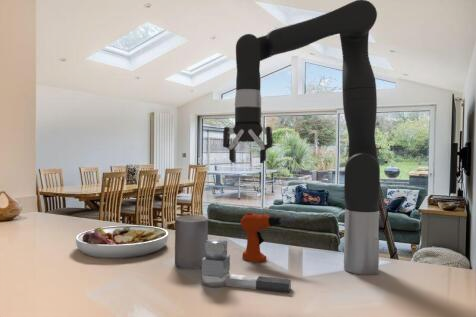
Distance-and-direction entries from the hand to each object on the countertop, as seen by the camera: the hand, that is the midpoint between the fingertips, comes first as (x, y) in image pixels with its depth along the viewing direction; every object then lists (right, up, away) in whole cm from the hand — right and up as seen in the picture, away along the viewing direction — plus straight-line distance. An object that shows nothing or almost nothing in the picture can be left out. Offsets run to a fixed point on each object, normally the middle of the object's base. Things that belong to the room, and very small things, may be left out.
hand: (247, 162), depth 113 cm
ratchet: (-1, -31, -16) cm, 34 cm away
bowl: (-42, -30, +20) cm, 55 cm away
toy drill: (+6, -30, +5) cm, 31 cm away
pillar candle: (-16, -30, +2) cm, 34 cm away
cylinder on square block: (-8, -28, -13) cm, 32 cm away
